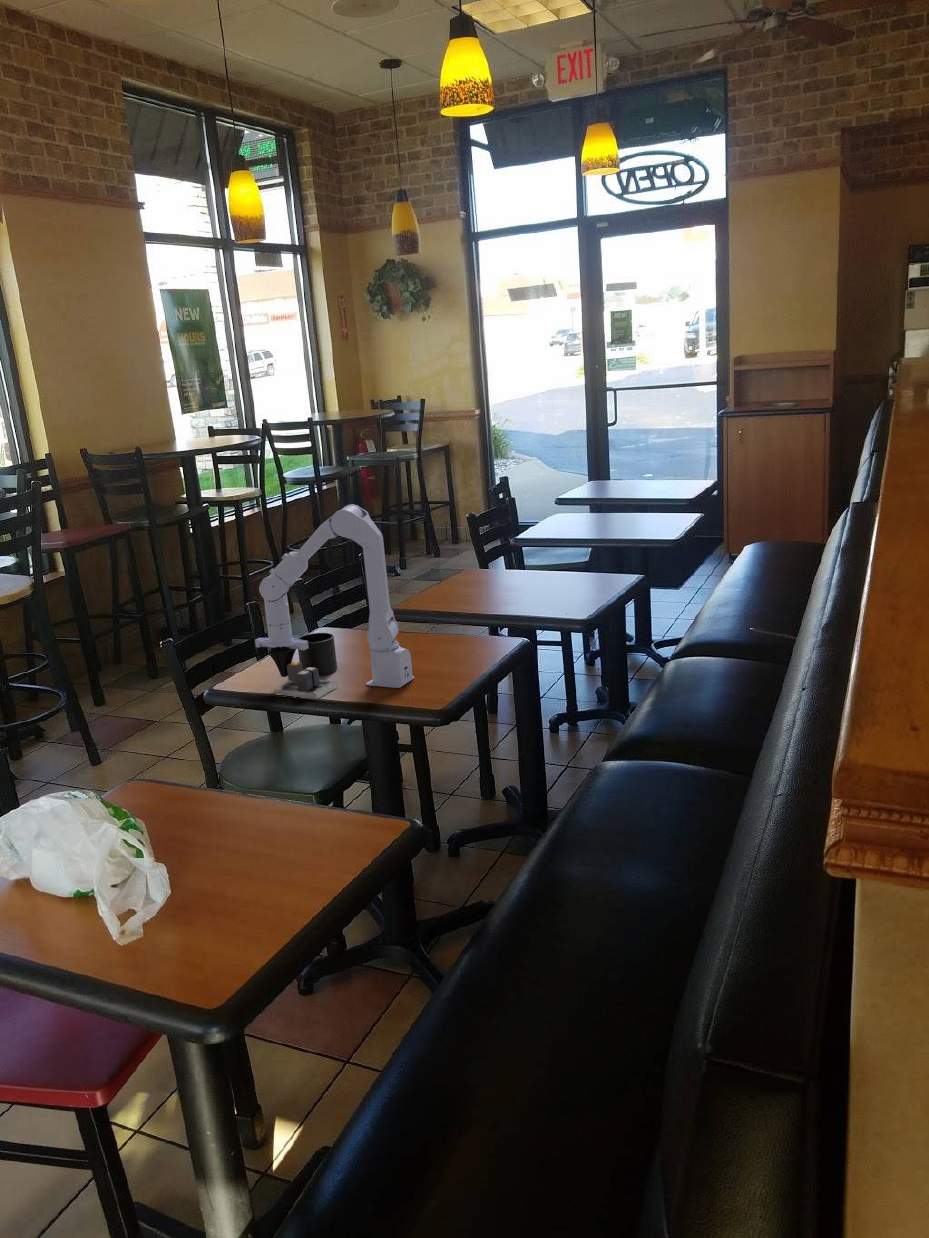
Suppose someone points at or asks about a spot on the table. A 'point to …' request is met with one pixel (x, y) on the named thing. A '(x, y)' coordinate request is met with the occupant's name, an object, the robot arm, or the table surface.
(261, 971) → the table surface
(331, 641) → the mug
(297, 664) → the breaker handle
